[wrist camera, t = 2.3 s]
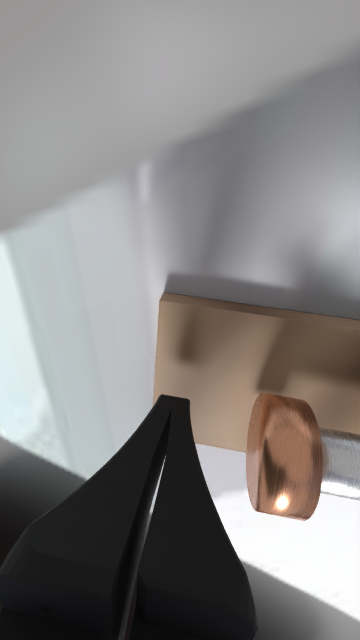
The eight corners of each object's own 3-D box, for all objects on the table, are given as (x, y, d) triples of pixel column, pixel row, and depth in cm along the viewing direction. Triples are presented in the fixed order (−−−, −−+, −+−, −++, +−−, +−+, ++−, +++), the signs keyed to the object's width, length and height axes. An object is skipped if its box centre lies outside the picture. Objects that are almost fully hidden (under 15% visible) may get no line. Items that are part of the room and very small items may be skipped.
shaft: (457, 403, 11) (580, 518, 7) (407, 468, 13) (483, 585, 9) (263, 371, 12) (282, 461, 8) (243, 438, 14) (251, 536, 10)
